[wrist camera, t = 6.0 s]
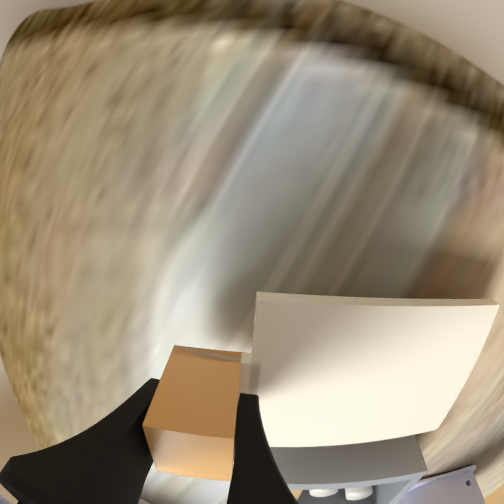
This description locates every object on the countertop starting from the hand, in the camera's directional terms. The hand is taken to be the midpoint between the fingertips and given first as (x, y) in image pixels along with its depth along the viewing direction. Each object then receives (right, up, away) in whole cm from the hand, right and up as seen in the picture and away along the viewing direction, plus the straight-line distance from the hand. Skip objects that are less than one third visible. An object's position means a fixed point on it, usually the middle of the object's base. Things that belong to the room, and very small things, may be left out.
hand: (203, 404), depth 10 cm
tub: (+7, -9, +7) cm, 14 cm away
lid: (+6, 0, +2) cm, 6 cm away
